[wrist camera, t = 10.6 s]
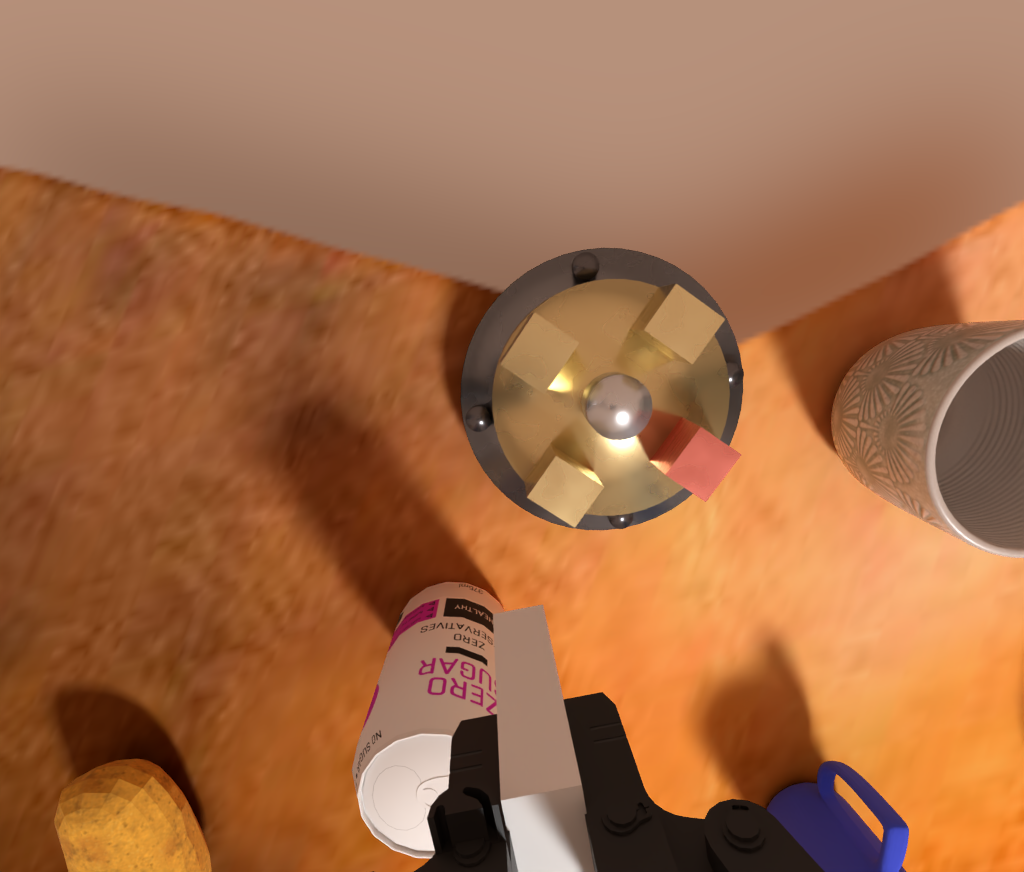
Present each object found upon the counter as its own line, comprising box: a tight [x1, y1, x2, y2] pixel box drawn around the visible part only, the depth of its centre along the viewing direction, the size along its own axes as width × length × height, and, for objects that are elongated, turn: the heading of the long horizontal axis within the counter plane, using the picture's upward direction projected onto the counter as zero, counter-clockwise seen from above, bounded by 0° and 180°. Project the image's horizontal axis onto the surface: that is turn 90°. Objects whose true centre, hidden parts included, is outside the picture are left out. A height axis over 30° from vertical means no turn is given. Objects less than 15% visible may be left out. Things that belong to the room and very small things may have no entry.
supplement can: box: [352, 582, 505, 858], centre depth 34 cm, size 8×8×15 cm
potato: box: [54, 759, 212, 872], centre depth 40 cm, size 8×14×7 cm, turn 13°
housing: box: [461, 248, 744, 530], centre depth 35 cm, size 18×18×8 cm
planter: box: [831, 320, 1024, 558], centre depth 34 cm, size 12×12×11 cm
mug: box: [767, 761, 909, 872], centre depth 40 cm, size 8×12×10 cm
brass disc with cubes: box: [492, 279, 741, 528], centre depth 33 cm, size 14×14×6 cm
